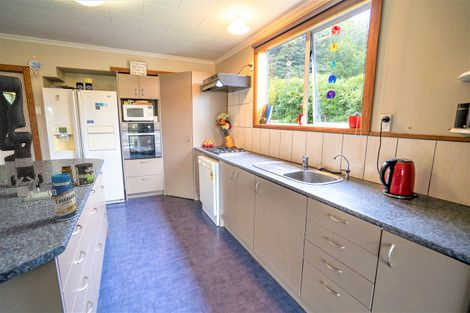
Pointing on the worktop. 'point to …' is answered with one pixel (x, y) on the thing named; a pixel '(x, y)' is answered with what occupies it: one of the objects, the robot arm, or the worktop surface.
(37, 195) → the pale green pegged board
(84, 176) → the coffee can
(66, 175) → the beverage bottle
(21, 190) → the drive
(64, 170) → the condiment
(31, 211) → the worktop surface
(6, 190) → the worktop surface
